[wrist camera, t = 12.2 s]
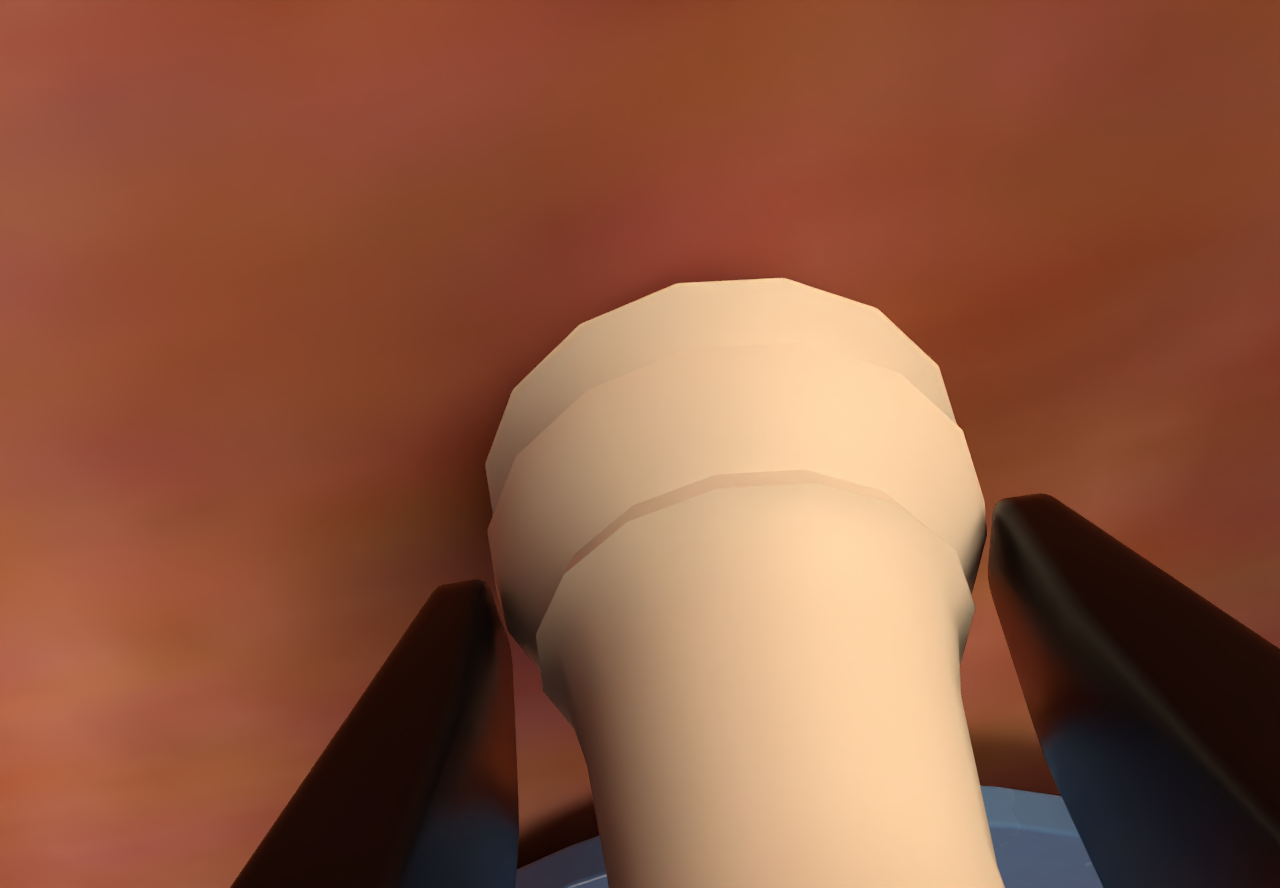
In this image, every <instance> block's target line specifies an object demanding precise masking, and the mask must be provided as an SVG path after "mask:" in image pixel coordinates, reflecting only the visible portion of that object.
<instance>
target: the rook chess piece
mask: <svg viewBox="0 0 1280 888" xmlns="http://www.w3.org/2000/svg"><path fill="white" fill-rule="evenodd" d="M485 467H486V474H487V480H488V487H489V493H490V500H491V506H492V513H493V517H492V519H491V522H490V524H489V527H488V529H487V533H488V539H489V546H490V552H491V558H492V564H493V570H494V576H495V583H496V589H497V595H498V601H499V604H500V607H501V610H502V613H503V616H504V620H505V623H506V626H507V629H508V631H509V633H510V634H511V635H512V636H513V638H514V639H515V640H516V641H517V643H518V644H519V645H520V646H521V648H522V649H523V650H524V651H525V653H526V654H527V655H528V656H529V658H530V659H531V660H532V661H533V663H534V664H535V665H536V666H537V668H538V669H539V670H540V671H541V677H542V685H543V691H544V692H545V694H546V695H547V696H548V697H549V699H550V700H551V701H552V702H553V703H554V705H555V706H556V707H557V708H558V710H559V711H560V712H561V713H562V714H563V716H564V717H565V718H566V719H567V721H568V722H569V723H570V724H571V725H572V727H573V728H574V729H575V732H576V735H577V737H578V740H579V743H580V746H581V749H582V752H583V755H584V758H585V760H586V763H587V767H588V773H589V778H590V784H591V790H592V795H593V801H594V806H595V812H596V818H597V823H598V829H599V835H600V840H601V846H602V852H603V857H604V863H605V869H606V874H607V880H608V885H609V888H1005V886H1004V883H1003V880H1002V878H1001V875H1000V872H999V869H998V867H997V862H996V857H995V853H994V848H993V843H992V839H991V834H990V829H989V824H988V820H987V815H986V810H985V806H984V801H983V796H982V792H981V787H980V782H979V778H978V773H977V768H976V763H975V759H974V754H973V749H972V745H971V740H970V735H969V731H968V726H967V721H966V717H965V712H964V707H963V702H962V698H961V684H960V664H961V660H962V656H963V652H964V649H965V645H966V641H967V637H968V633H969V629H970V626H971V622H972V618H973V614H974V610H975V604H974V601H973V599H972V596H971V595H972V591H973V587H974V583H975V579H976V575H977V571H978V568H979V564H980V560H981V556H982V552H983V548H984V544H985V540H986V536H987V530H986V516H985V503H984V498H983V495H982V491H981V488H980V485H979V482H978V478H977V475H976V472H975V469H974V465H973V462H972V459H971V456H970V452H969V449H968V446H967V442H966V439H965V436H964V433H963V430H962V429H961V428H960V427H959V426H957V423H956V420H955V417H954V414H953V411H952V407H951V404H950V401H949V398H948V394H947V391H946V388H945V385H944V381H943V378H942V375H941V372H940V369H939V366H938V365H937V364H936V363H935V362H934V361H933V360H932V359H931V358H930V357H929V356H927V355H926V354H925V353H924V352H923V351H922V350H921V349H920V348H919V347H918V346H917V345H916V344H915V343H914V342H913V341H912V340H910V339H909V338H908V337H907V336H906V335H905V334H904V333H903V332H902V331H901V330H900V329H899V328H898V327H897V326H896V325H895V324H893V323H892V322H891V321H890V320H889V319H888V318H887V317H886V316H885V315H884V314H883V313H882V312H881V311H880V310H879V309H878V308H875V307H872V306H869V305H866V304H863V303H860V302H856V301H853V300H850V299H847V298H844V297H841V296H838V295H835V294H832V293H829V292H826V291H823V290H820V289H817V288H814V287H811V286H808V285H805V284H802V283H799V282H795V281H792V280H789V279H786V278H769V279H750V280H730V281H711V282H692V283H676V284H674V285H672V286H669V287H667V288H664V289H662V290H660V291H657V292H655V293H653V294H650V295H648V296H645V297H643V298H641V299H638V300H636V301H634V302H631V303H629V304H626V305H624V306H622V307H619V308H617V309H615V310H612V311H610V312H607V313H605V314H603V315H600V316H598V317H596V318H593V319H591V320H588V321H586V322H584V323H581V324H579V325H578V326H577V327H576V328H575V329H574V330H573V331H572V332H571V333H570V334H569V335H568V336H567V337H566V338H565V339H564V340H563V341H562V342H561V343H560V344H559V345H558V346H557V347H556V348H555V349H554V350H553V351H552V352H551V353H550V354H549V355H548V356H547V357H546V358H544V359H543V360H542V361H541V362H540V363H539V364H538V365H537V366H536V367H535V368H534V369H533V370H532V371H531V372H530V373H529V374H528V375H527V376H526V377H525V378H524V379H523V380H522V381H521V382H520V383H519V384H518V385H517V386H516V387H515V388H514V389H513V390H512V393H511V395H510V398H509V401H508V403H507V406H506V409H505V412H504V414H503V417H502V420H501V422H500V425H499V428H498V431H497V433H496V436H495V439H494V441H493V444H492V447H491V450H490V452H489V455H488V458H487V460H486V463H485Z"/></svg>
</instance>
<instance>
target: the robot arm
mask: <svg viewBox="0 0 1280 888" xmlns="http://www.w3.org/2000/svg"><path fill="white" fill-rule="evenodd" d="M988 579H989V585H990V590H991V594H992V598H993V601H994V604H995V607H996V610H997V613H998V616H999V620H1000V623H1001V626H1002V629H1003V632H1004V635H1005V638H1006V641H1007V644H1008V647H1009V651H1010V654H1011V657H1012V660H1013V663H1014V666H1015V669H1016V672H1017V675H1018V679H1019V682H1020V685H1021V688H1022V691H1023V694H1024V697H1025V700H1026V703H1027V707H1028V710H1029V713H1030V716H1031V719H1032V722H1033V725H1034V728H1035V731H1036V734H1037V737H1038V740H1039V743H1040V746H1041V749H1042V752H1043V755H1044V757H1045V760H1046V762H1047V764H1048V767H1049V769H1050V772H1051V774H1052V776H1053V779H1054V781H1055V783H1056V786H1057V788H1058V790H1059V792H1060V794H1061V797H1062V799H1063V801H1064V803H1065V805H1066V808H1067V810H1068V812H1069V814H1070V816H1071V818H1072V821H1073V823H1074V825H1075V827H1076V829H1077V832H1078V834H1079V836H1080V838H1081V840H1082V843H1083V845H1084V847H1085V849H1086V851H1087V853H1088V856H1089V858H1090V860H1091V862H1092V864H1093V867H1094V869H1095V871H1096V873H1097V875H1098V878H1099V880H1100V882H1101V884H1102V886H1103V888H1280V649H1279V648H1277V647H1276V646H1274V645H1273V644H1271V643H1270V642H1268V641H1267V640H1265V639H1264V638H1262V637H1261V636H1259V635H1258V634H1257V633H1255V632H1254V631H1252V630H1251V629H1249V628H1248V627H1246V626H1245V625H1243V624H1242V623H1240V622H1239V621H1237V620H1236V619H1234V618H1233V617H1231V616H1230V615H1228V614H1227V613H1225V612H1224V611H1222V610H1221V609H1219V608H1218V607H1216V606H1215V605H1213V604H1212V603H1210V602H1209V601H1207V600H1206V599H1204V598H1203V597H1201V596H1200V595H1198V594H1197V593H1195V592H1194V591H1193V590H1191V589H1190V588H1188V587H1187V586H1185V585H1184V584H1182V583H1181V582H1179V581H1178V580H1176V579H1175V578H1173V577H1172V576H1170V575H1169V574H1167V573H1166V572H1164V571H1163V570H1161V569H1160V568H1158V567H1157V566H1155V565H1154V564H1152V563H1151V562H1149V561H1148V560H1146V559H1145V558H1143V557H1142V556H1140V555H1139V554H1137V553H1136V552H1134V551H1133V550H1131V549H1130V548H1129V547H1127V546H1126V545H1124V544H1123V543H1121V542H1120V541H1118V540H1117V539H1115V538H1114V537H1112V536H1111V535H1109V534H1108V533H1106V532H1105V531H1103V530H1102V529H1100V528H1099V527H1097V526H1096V525H1094V524H1093V523H1091V522H1090V521H1088V520H1087V519H1085V518H1084V517H1082V516H1081V515H1079V514H1078V513H1076V512H1075V511H1073V510H1072V509H1070V508H1069V507H1067V506H1066V505H1065V504H1063V503H1062V502H1060V501H1059V500H1057V499H1056V498H1054V497H1052V496H1050V495H1047V494H1032V495H1026V496H1019V497H1012V498H1006V499H1002V500H1001V501H999V502H998V503H997V504H996V506H995V508H994V511H993V516H992V527H991V539H990V550H989V561H988ZM518 840H519V809H518V780H517V756H516V732H515V708H514V684H513V664H512V655H511V649H510V645H509V641H508V638H507V635H506V632H505V629H504V627H503V624H502V621H501V618H500V615H499V613H498V610H497V607H496V604H495V601H494V598H493V596H492V593H491V590H490V588H489V586H488V585H487V584H486V583H485V582H484V581H482V580H470V581H464V582H457V583H451V584H444V585H441V586H439V587H438V588H437V589H436V590H434V591H433V593H432V594H431V595H430V597H429V598H428V600H427V601H426V603H425V604H424V606H423V607H422V609H421V610H420V612H419V613H418V614H417V616H416V617H415V619H414V620H413V622H412V623H411V625H410V626H409V628H408V629H407V630H406V632H405V633H404V635H403V636H402V638H401V639H400V641H399V642H398V644H397V645H396V646H395V648H394V649H393V651H392V652H391V654H390V655H389V657H388V658H387V660H386V661H385V663H384V664H383V665H382V667H381V668H380V670H379V671H378V673H377V674H376V676H375V677H374V679H373V680H372V681H371V683H370V684H369V686H368V687H367V689H366V690H365V692H364V693H363V695H362V696H361V698H360V699H359V700H358V702H357V703H356V705H355V706H354V708H353V709H352V711H351V712H350V714H349V715H348V716H347V718H346V719H345V721H344V722H343V724H342V725H341V727H340V728H339V730H338V731H337V732H336V734H335V735H334V737H333V738H332V740H331V741H330V743H329V744H328V746H327V747H326V749H325V750H324V751H323V753H322V754H321V756H320V757H319V759H318V760H317V762H316V763H315V765H314V766H313V767H312V769H311V770H310V772H309V773H308V775H307V776H306V778H305V779H304V781H303V782H302V784H301V785H300V786H299V788H298V789H297V791H296V792H295V794H294V795H293V797H292V798H291V800H290V801H289V802H288V804H287V805H286V807H285V808H284V810H283V811H282V813H281V814H280V816H279V817H278V818H277V820H276V821H275V823H274V824H273V826H272V827H271V829H270V830H269V832H268V833H267V835H266V836H265V837H264V839H263V840H262V842H261V843H260V845H259V846H258V848H257V849H256V851H255V852H254V853H253V855H252V856H251V858H250V859H249V861H248V862H247V864H246V865H245V867H244V868H243V869H242V871H241V872H240V874H239V875H238V877H237V878H236V880H235V881H234V883H233V884H232V886H231V887H230V888H515V886H516V873H517V860H518Z"/></svg>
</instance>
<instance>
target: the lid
mask: <svg viewBox="0 0 1280 888" xmlns="http://www.w3.org/2000/svg"><path fill="white" fill-rule="evenodd" d="M980 787H981V792H982V796H983V801H984V806H985V810H986V815H987V820H988V824H989V829H990V834H991V839H992V843H993V848H994V853H995V857H996V862H997V867H998V869H999V872H1000V875H1001V878H1002V880H1003V883H1004V886H1005V888H1103V886H1102V884H1101V882H1100V880H1099V878H1098V875H1097V873H1096V871H1095V869H1094V867H1093V864H1092V862H1091V860H1090V858H1089V856H1088V853H1087V851H1086V849H1085V847H1084V845H1083V843H1082V840H1081V838H1080V836H1079V834H1078V832H1077V829H1076V827H1075V825H1074V823H1073V821H1072V818H1071V816H1070V814H1069V812H1068V810H1067V808H1066V805H1065V803H1064V801H1063V799H1062V797H1061V796H1058V795H1051V794H1045V793H1038V792H1031V791H1024V790H1017V789H1010V788H1003V787H996V786H980ZM515 888H609V885H608V880H607V874H606V869H605V863H604V857H603V852H602V846H601V840H600V835H599V836H596V837H593V838H591V839H588V840H585V841H582V842H579V843H576V844H573V845H571V846H568V847H566V848H564V849H562V850H559V851H557V852H555V853H553V854H550V855H548V856H546V857H543V858H541V859H539V860H537V861H534V862H532V863H530V864H528V865H525V866H523V867H521V868H519V869H517V873H516V886H515Z"/></svg>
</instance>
